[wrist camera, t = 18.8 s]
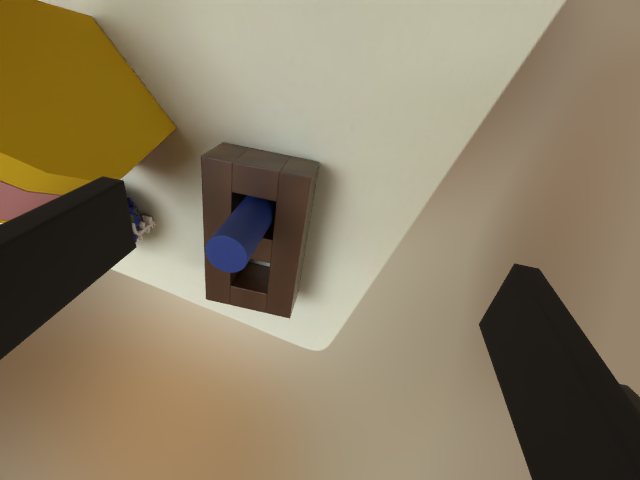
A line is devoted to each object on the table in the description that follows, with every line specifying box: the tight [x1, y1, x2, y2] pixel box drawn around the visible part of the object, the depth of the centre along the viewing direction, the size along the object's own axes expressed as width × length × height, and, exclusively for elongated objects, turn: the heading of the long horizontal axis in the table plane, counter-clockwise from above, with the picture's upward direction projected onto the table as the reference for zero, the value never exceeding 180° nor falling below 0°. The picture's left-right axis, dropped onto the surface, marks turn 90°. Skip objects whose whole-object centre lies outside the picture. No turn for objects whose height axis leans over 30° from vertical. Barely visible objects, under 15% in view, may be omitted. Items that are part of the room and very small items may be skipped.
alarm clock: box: [0, 0, 176, 223], centre depth 26 cm, size 15×8×18 cm, turn 32°
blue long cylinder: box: [205, 195, 276, 273], centre depth 31 cm, size 4×4×12 cm
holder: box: [201, 143, 319, 318], centre depth 36 cm, size 10×18×5 cm, turn 171°
